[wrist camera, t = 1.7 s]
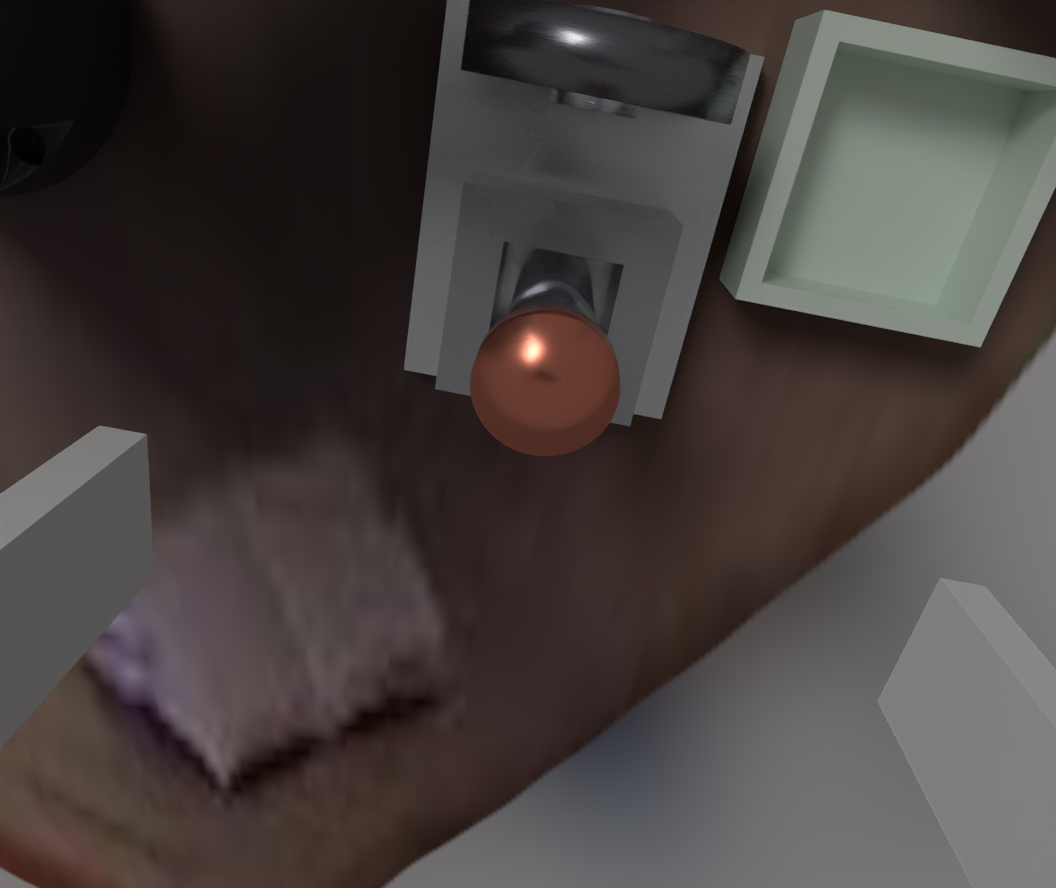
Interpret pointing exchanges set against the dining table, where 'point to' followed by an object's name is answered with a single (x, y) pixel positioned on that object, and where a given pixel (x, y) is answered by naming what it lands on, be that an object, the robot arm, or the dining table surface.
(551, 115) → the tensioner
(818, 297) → the tray
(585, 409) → the pin
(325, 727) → the dining table surface
